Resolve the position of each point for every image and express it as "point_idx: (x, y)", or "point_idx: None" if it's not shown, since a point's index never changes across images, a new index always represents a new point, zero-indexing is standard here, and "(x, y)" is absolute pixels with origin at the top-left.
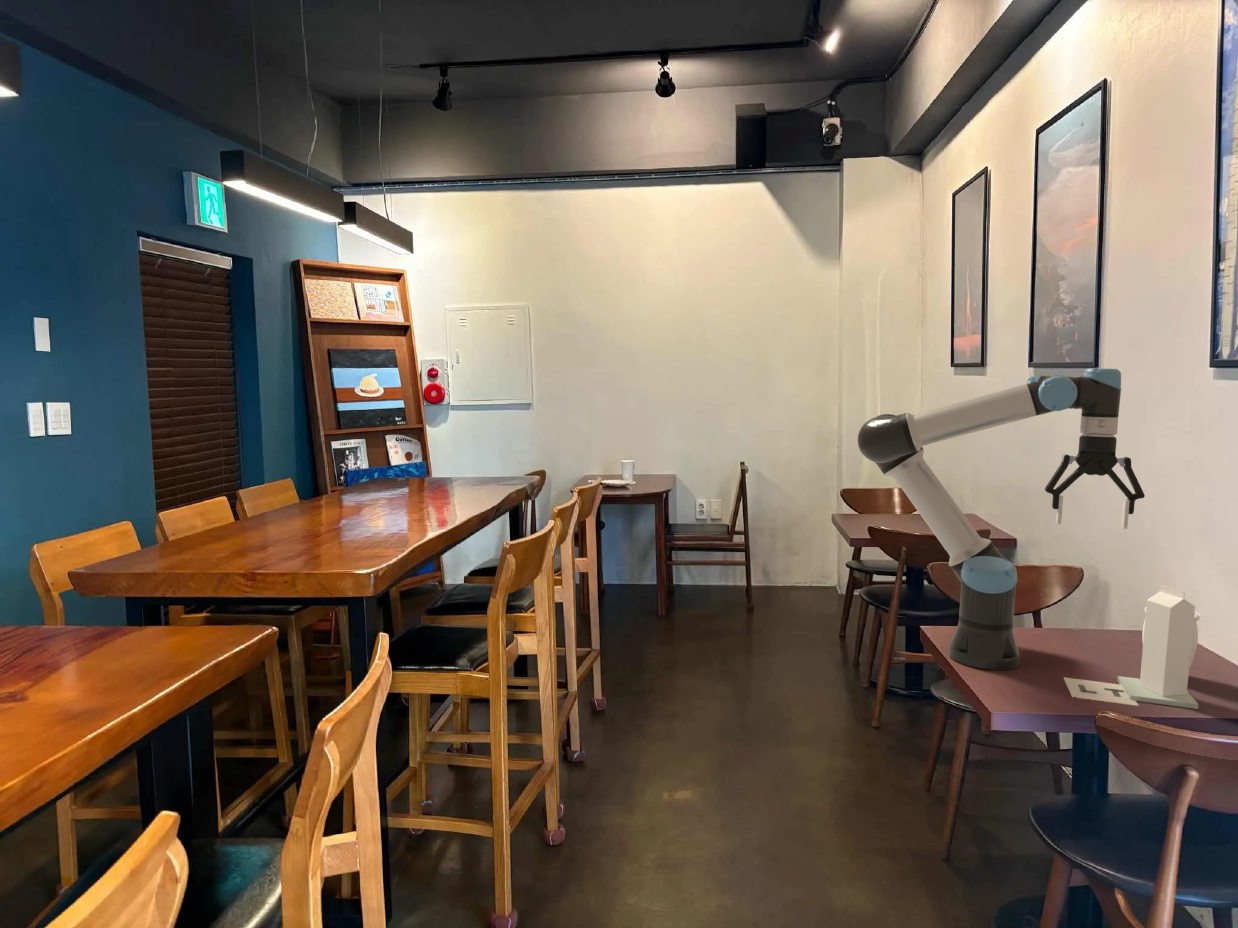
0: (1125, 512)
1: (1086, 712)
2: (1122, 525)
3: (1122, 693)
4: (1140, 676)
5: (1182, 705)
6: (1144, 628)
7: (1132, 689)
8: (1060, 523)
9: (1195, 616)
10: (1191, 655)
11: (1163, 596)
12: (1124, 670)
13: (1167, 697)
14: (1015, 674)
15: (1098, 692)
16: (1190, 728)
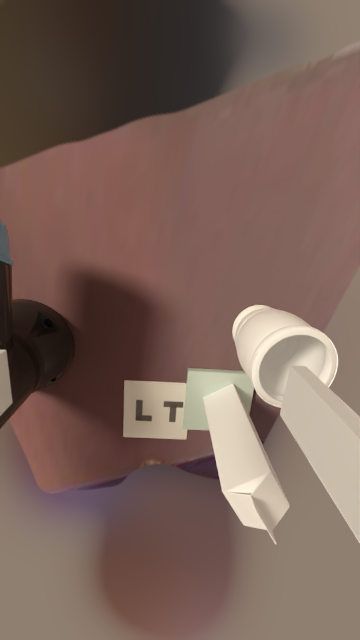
0: (322, 479)
1: (129, 470)
2: (288, 398)
3: (180, 410)
4: (204, 404)
5: None
6: (241, 355)
7: (191, 411)
8: (8, 405)
9: None
10: (287, 364)
11: (248, 506)
12: (208, 325)
13: None
14: (68, 387)
15: (154, 416)
16: (215, 476)
